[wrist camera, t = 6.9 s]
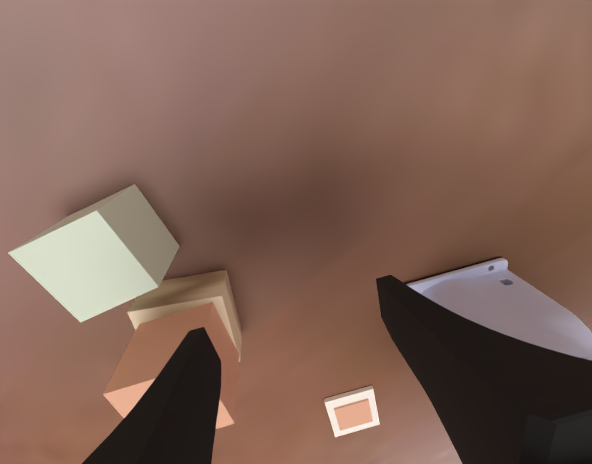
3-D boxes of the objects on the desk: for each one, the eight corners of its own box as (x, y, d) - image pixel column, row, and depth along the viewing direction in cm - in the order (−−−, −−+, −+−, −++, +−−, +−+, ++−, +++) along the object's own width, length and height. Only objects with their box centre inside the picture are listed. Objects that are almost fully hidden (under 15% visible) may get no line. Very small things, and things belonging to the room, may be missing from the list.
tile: (371, 385, 29) (373, 390, 29) (378, 420, 32) (380, 426, 31) (323, 398, 29) (325, 404, 29) (334, 433, 32) (335, 438, 31)
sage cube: (135, 183, 18) (96, 210, 14) (180, 245, 21) (158, 286, 16) (67, 216, 19) (8, 252, 14) (118, 274, 21) (80, 322, 16)
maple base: (226, 267, 22) (222, 295, 19) (242, 327, 25) (240, 361, 21) (146, 281, 22) (127, 312, 18) (170, 340, 24) (157, 376, 21)
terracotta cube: (212, 301, 19) (199, 365, 14) (239, 354, 21) (234, 423, 17) (139, 324, 19) (103, 394, 14) (173, 374, 21) (150, 448, 17)
